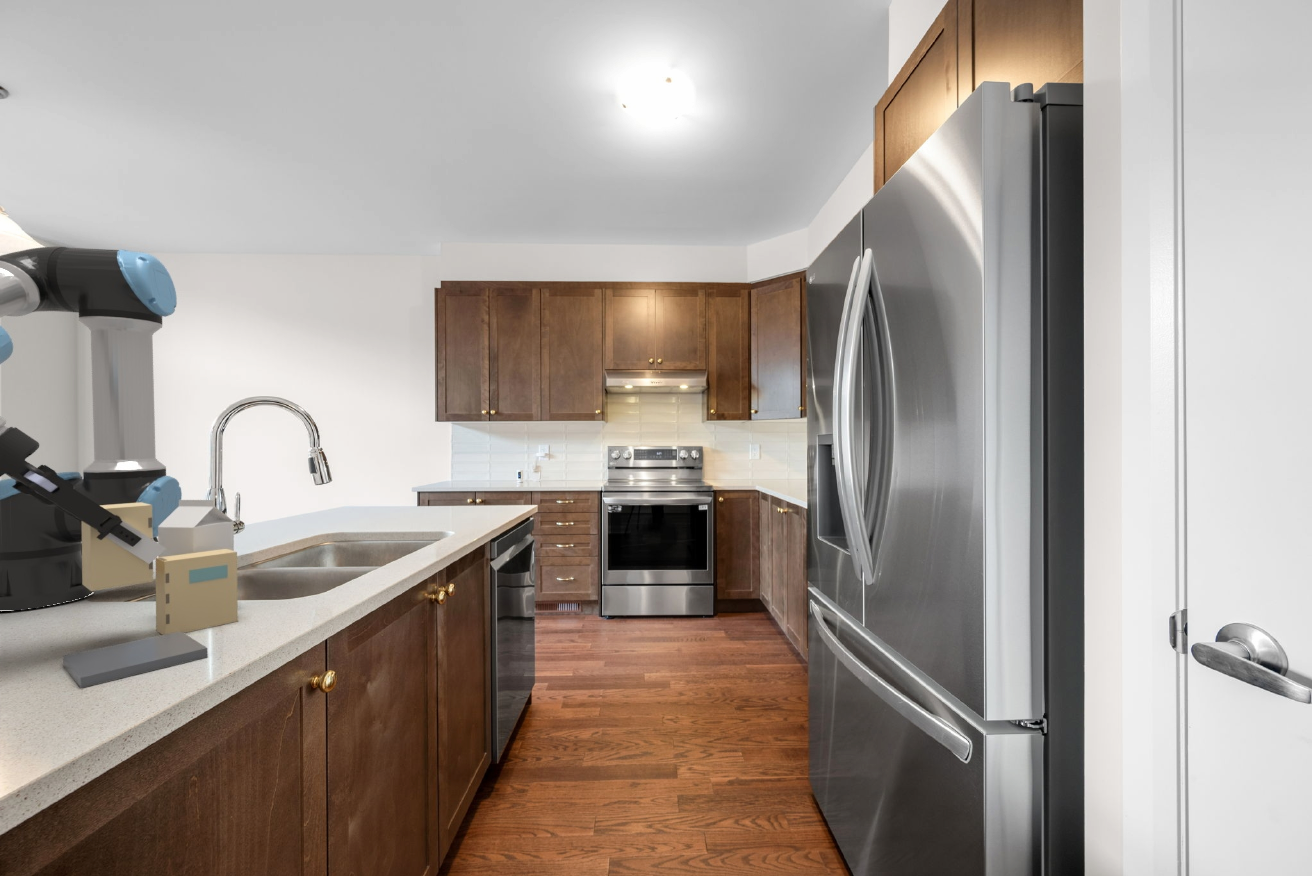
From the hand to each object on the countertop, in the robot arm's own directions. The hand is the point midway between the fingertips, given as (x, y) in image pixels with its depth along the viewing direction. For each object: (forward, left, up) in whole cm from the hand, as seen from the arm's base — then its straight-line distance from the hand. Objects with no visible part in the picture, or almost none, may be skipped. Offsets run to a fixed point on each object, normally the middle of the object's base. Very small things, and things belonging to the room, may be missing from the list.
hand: (150, 553), depth 86 cm
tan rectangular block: (0, -4, -4) cm, 5 cm away
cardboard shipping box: (0, +6, -12) cm, 13 cm away
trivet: (+12, -4, -12) cm, 17 cm away
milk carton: (-8, +8, -12) cm, 17 cm away
